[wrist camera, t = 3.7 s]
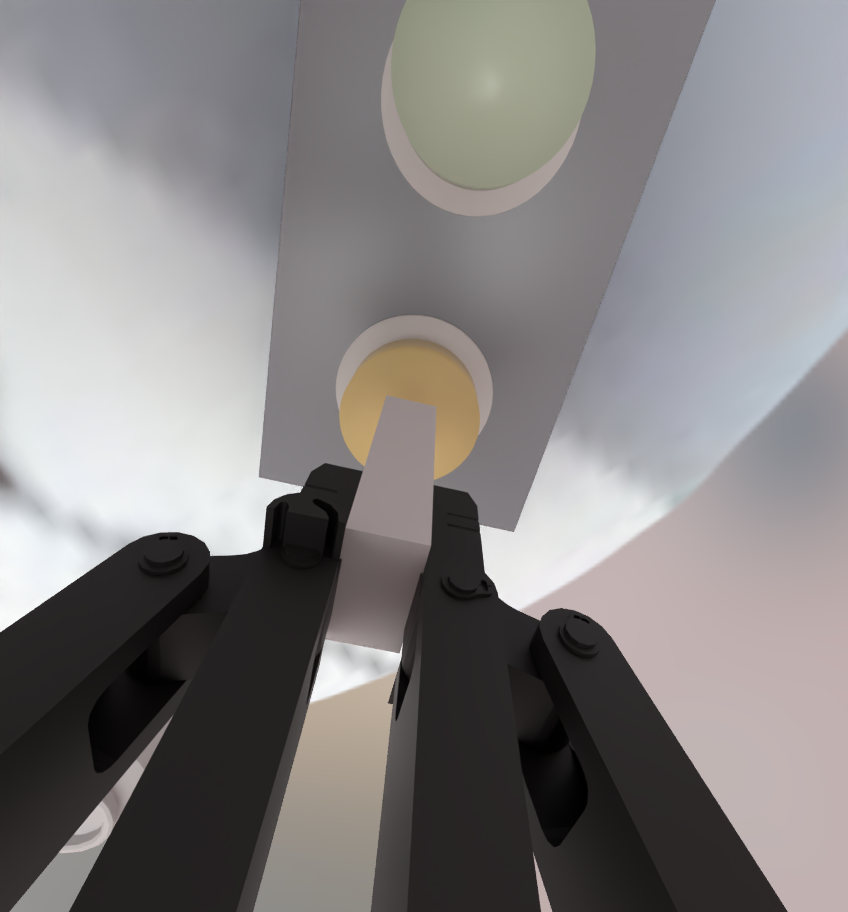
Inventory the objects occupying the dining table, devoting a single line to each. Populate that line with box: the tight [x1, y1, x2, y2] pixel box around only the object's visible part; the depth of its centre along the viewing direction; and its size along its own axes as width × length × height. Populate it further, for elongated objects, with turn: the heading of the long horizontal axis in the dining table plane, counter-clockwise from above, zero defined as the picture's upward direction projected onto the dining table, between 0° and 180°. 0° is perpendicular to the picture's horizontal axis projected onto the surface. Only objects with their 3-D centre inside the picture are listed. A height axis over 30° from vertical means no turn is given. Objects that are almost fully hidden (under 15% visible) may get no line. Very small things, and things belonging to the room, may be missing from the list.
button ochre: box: [339, 339, 480, 480], centre depth 18 cm, size 5×5×2 cm
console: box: [259, 0, 715, 532], centre depth 17 cm, size 31×12×3 cm, turn 167°
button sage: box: [391, 0, 596, 191], centre depth 13 cm, size 5×5×2 cm
